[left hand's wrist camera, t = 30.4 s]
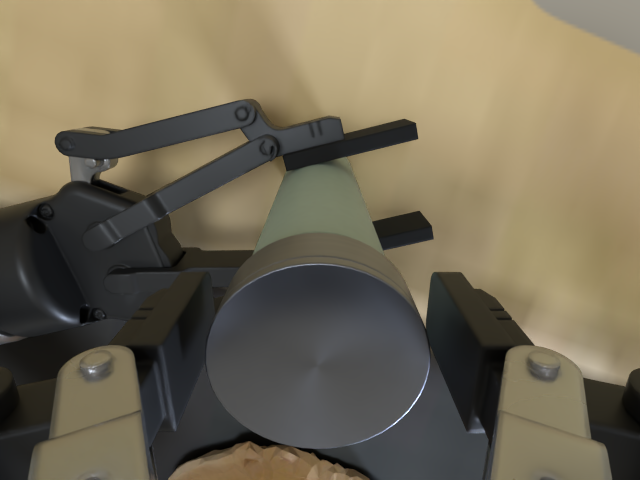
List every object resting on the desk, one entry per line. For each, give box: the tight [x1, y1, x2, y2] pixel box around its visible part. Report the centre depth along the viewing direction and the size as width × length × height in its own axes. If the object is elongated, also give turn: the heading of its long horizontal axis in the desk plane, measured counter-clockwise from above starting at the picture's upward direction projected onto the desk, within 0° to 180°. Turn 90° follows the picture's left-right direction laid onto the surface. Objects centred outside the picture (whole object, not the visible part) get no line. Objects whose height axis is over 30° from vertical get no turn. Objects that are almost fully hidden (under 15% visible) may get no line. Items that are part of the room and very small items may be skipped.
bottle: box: [253, 157, 385, 256], centre depth 19 cm, size 4×4×19 cm
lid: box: [205, 233, 431, 449], centre depth 10 cm, size 5×5×2 cm
